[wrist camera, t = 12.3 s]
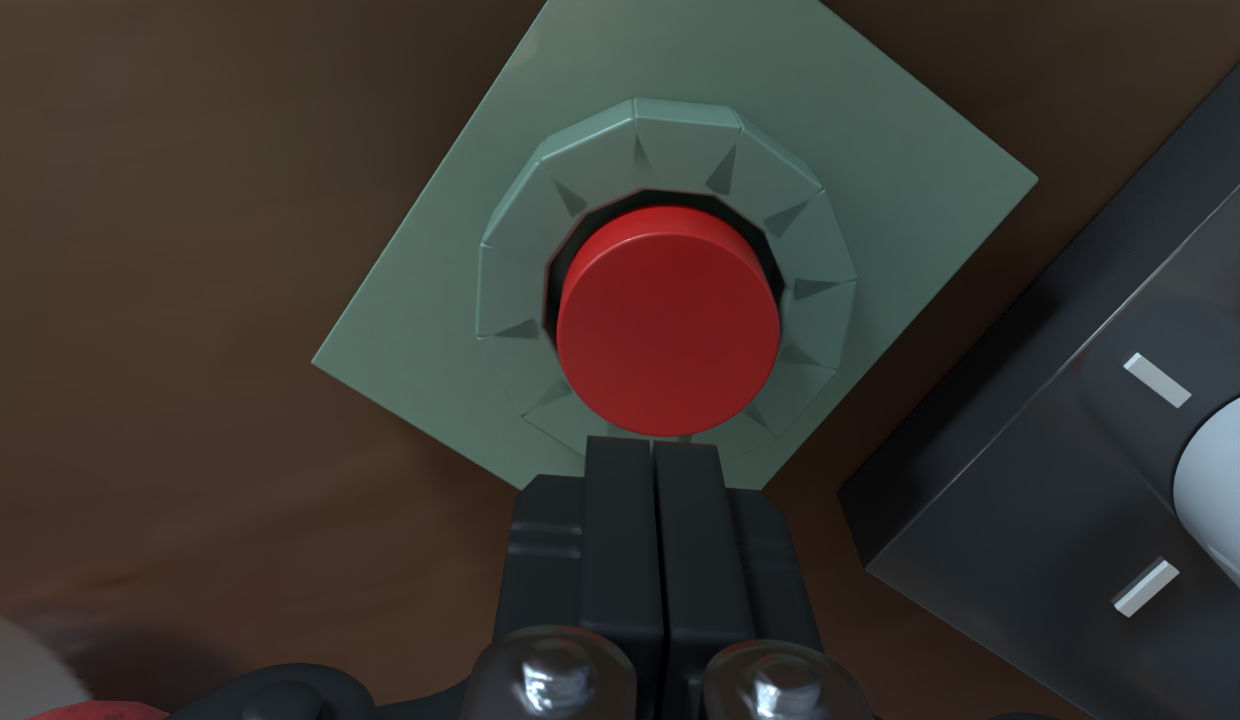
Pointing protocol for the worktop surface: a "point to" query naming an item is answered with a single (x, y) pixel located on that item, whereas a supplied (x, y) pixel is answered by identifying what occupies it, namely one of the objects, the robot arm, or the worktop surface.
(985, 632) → the panel
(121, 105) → the worktop surface
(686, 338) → the button
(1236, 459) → the burner knob
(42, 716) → the red round fruit
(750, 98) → the block
